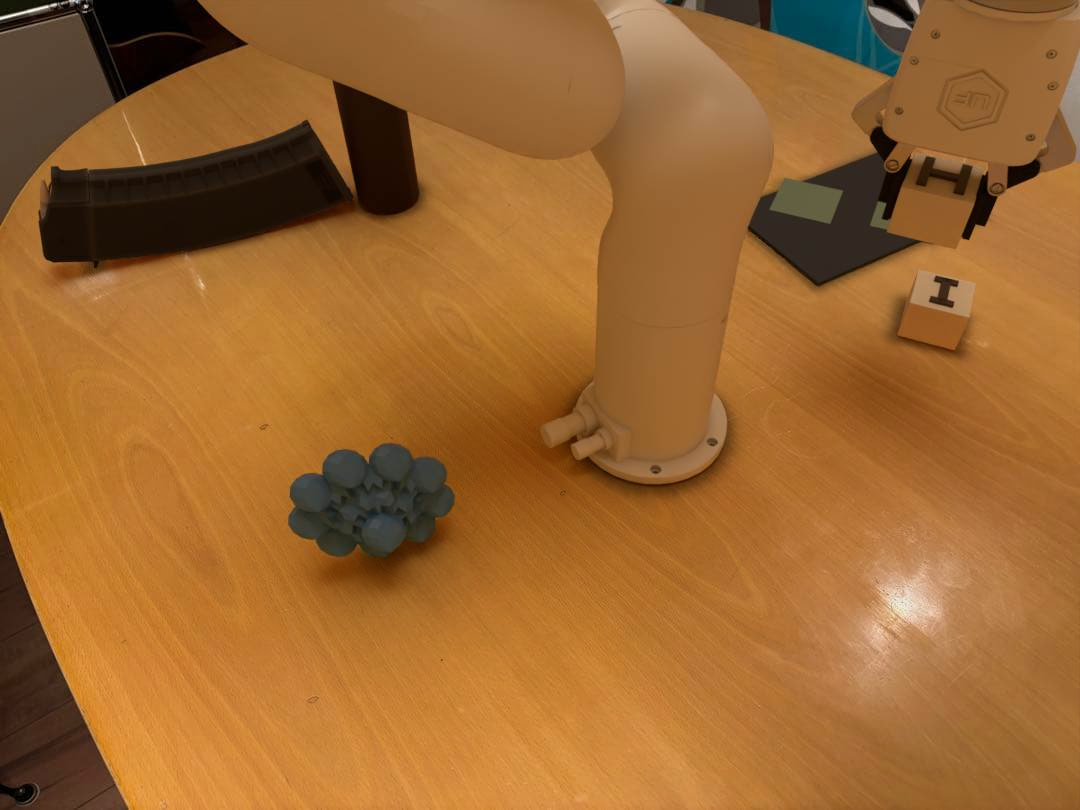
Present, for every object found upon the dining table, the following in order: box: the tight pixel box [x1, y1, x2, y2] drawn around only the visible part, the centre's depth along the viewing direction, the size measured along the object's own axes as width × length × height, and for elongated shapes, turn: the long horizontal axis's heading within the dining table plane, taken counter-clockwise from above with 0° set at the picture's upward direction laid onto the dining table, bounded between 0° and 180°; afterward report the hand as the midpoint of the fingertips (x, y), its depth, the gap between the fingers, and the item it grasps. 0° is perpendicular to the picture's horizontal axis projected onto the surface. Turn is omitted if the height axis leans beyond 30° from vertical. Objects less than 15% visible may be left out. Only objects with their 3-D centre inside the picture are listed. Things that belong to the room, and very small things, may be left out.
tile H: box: [887, 152, 986, 250], centre depth 64 cm, size 5×5×4 cm
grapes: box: [287, 442, 456, 558], centre depth 60 cm, size 12×7×12 cm, turn 112°
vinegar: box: [331, 80, 420, 215], centre depth 88 cm, size 7×7×20 cm
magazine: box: [37, 119, 355, 269], centre depth 88 cm, size 17×3×30 cm
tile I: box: [896, 268, 977, 351], centre depth 79 cm, size 5×5×4 cm
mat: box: [747, 151, 921, 287], centre depth 92 cm, size 22×16×1 cm
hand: (928, 217), depth 66 cm, fingers closed on tile H, 5 cm apart
